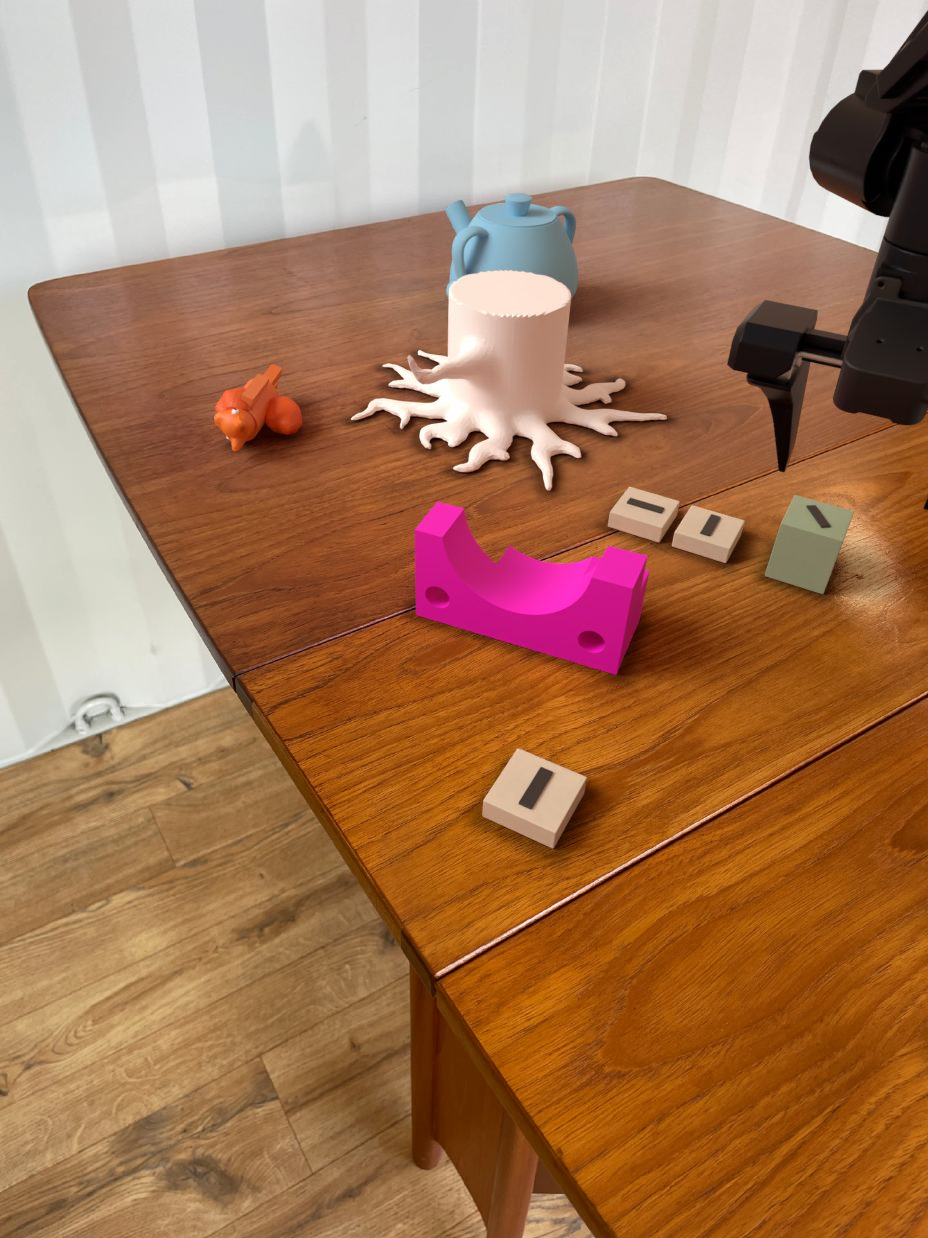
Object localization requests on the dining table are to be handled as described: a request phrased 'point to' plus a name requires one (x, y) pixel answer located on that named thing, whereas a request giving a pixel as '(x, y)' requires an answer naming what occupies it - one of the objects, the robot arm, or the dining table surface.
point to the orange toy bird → (256, 409)
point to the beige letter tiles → (693, 534)
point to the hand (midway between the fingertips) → (852, 487)
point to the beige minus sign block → (534, 797)
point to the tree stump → (505, 372)
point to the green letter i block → (808, 543)
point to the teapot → (514, 240)
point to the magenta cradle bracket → (529, 593)
